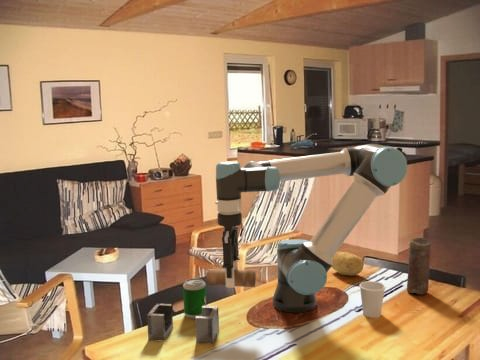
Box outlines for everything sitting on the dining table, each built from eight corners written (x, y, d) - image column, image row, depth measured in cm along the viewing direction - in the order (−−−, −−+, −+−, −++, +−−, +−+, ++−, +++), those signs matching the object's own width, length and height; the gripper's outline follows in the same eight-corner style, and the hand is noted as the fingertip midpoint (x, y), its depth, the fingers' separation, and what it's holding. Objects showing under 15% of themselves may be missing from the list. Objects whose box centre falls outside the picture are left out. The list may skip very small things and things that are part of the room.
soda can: (203, 320, 164) (202, 286, 162) (181, 319, 166) (179, 284, 164) (209, 311, 172) (208, 277, 170) (188, 310, 173) (186, 276, 171)
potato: (344, 281, 196) (345, 258, 195) (327, 270, 210) (327, 248, 208) (367, 278, 199) (367, 255, 198) (348, 267, 213) (348, 245, 212)
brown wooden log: (256, 280, 160) (255, 267, 158) (253, 290, 155) (253, 277, 153) (210, 278, 162) (208, 265, 160) (206, 288, 158) (205, 274, 156)
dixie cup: (389, 313, 167) (390, 284, 165) (377, 321, 161) (377, 292, 159) (366, 306, 172) (367, 279, 171) (354, 314, 166) (354, 286, 165)
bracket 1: (148, 339, 152) (147, 315, 151) (158, 327, 160) (156, 303, 159) (164, 341, 151) (162, 315, 150) (173, 328, 160) (171, 304, 158)
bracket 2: (218, 330, 157) (218, 306, 156) (212, 344, 148) (211, 318, 147) (203, 329, 158) (202, 305, 157) (196, 343, 149) (195, 317, 148)
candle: (430, 291, 185) (432, 238, 182) (426, 298, 179) (428, 244, 176) (409, 287, 189) (411, 236, 186) (404, 294, 183) (406, 241, 180)
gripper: (223, 205, 164) (226, 273, 168) (210, 218, 146) (214, 294, 150) (246, 205, 163) (248, 274, 166) (236, 218, 145) (238, 295, 149)
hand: (232, 283), depth 158 cm, fingers closed on brown wooden log, 5 cm apart
